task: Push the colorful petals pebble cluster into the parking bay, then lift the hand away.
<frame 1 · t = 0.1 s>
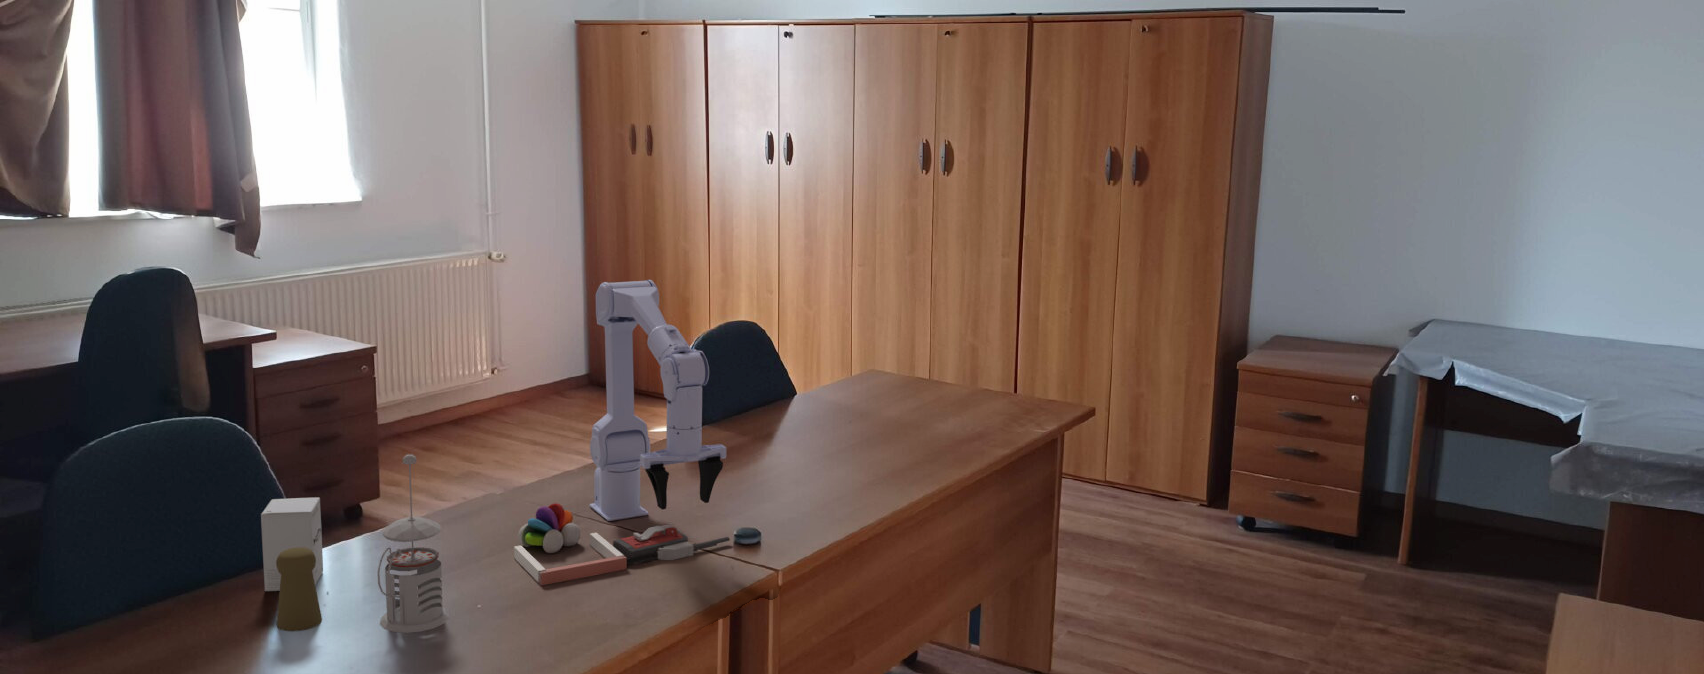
hand: (683, 504, 206), 10 cm above the table, tool pointing down, fingers open, 7 cm apart
french press: (411, 621, 182), on the table
supplement box: (295, 582, 194), on the table
cork: (299, 623, 180), on the table
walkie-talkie: (669, 553, 213), on the table
colorful petals pebble cluster: (549, 546, 213), on the table
parking bay: (568, 562, 206), on the table
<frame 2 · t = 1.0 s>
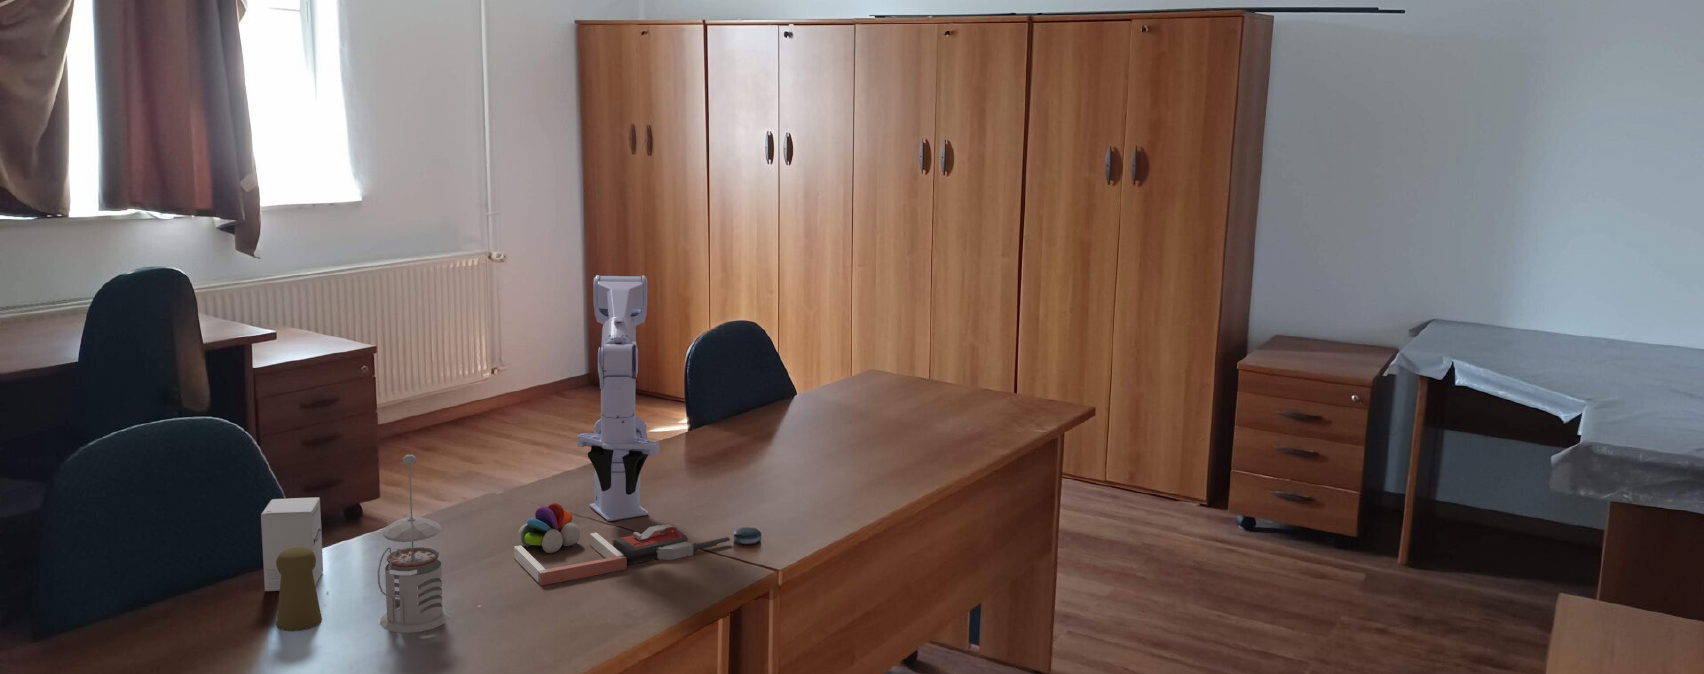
hand: (618, 491, 212), 10 cm above the table, tool pointing down, fingers open, 4 cm apart
nothing on the table moved.
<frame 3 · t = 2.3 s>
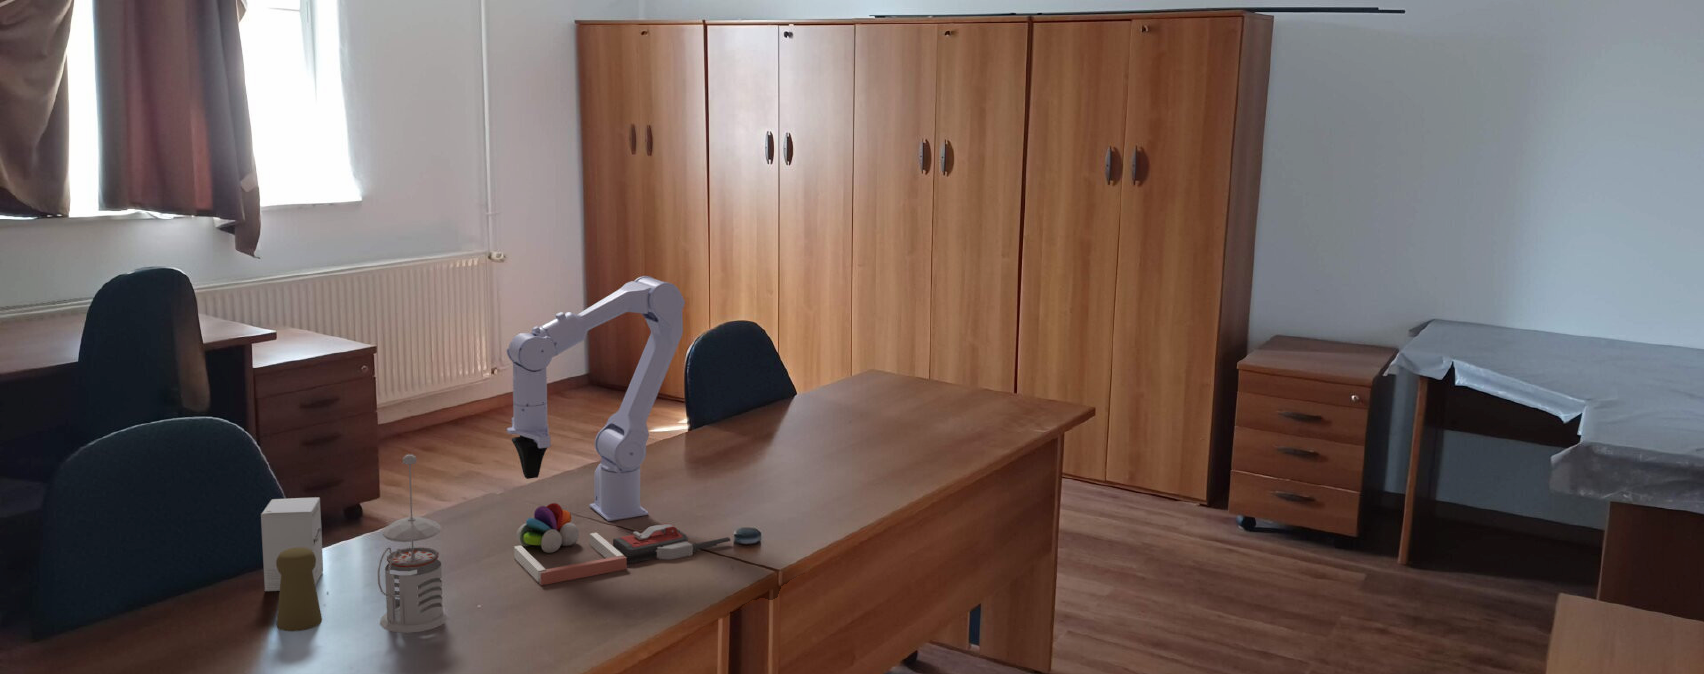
hand: (531, 477, 219), 9 cm above the table, tool pointing down, fingers closed
nothing on the table moved.
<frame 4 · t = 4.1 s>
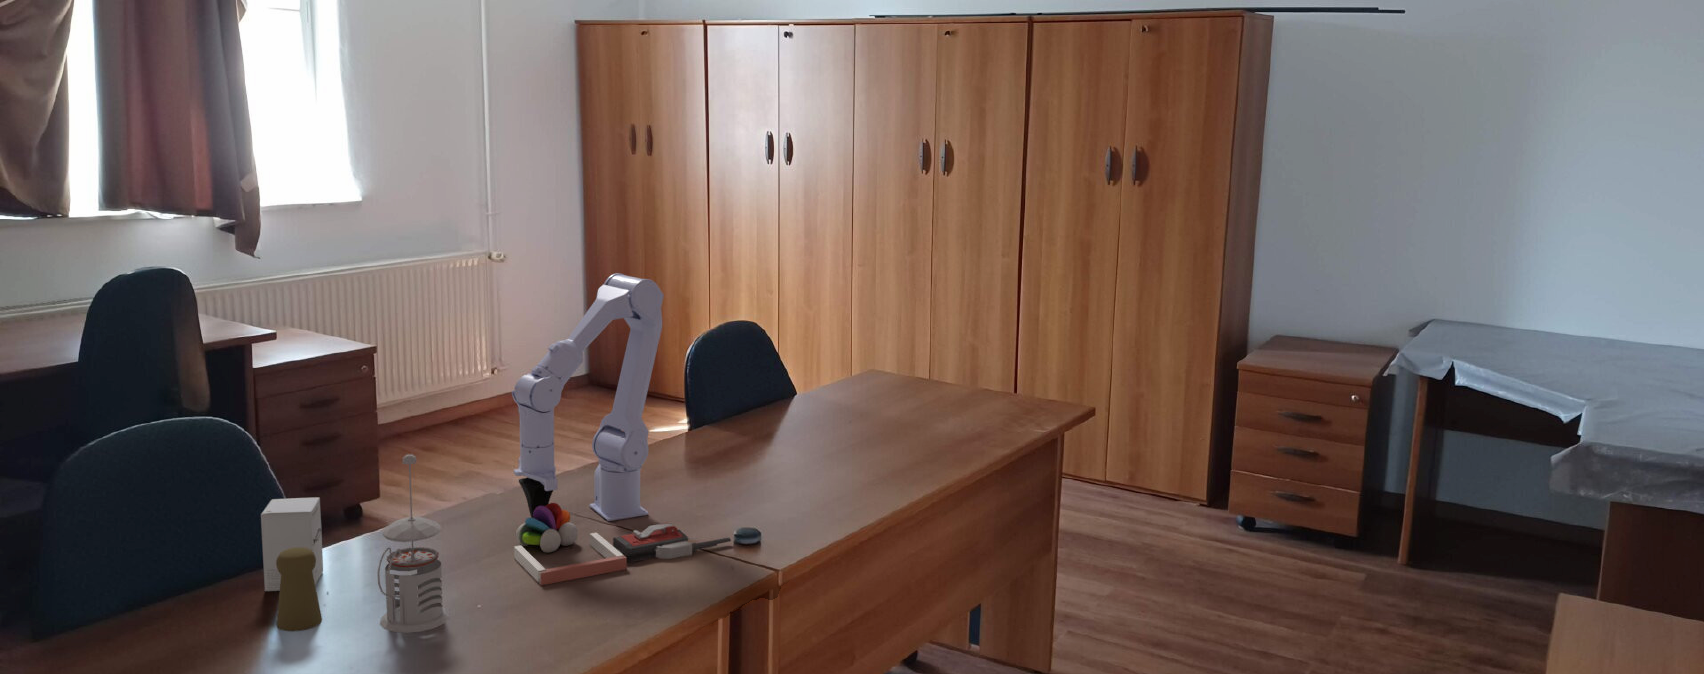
hand: (538, 518, 217), 3 cm above the table, tool pointing down, fingers closed
colorful petals pebble cluster: (547, 546, 213), on the table, touching gripper
everything else where it was.
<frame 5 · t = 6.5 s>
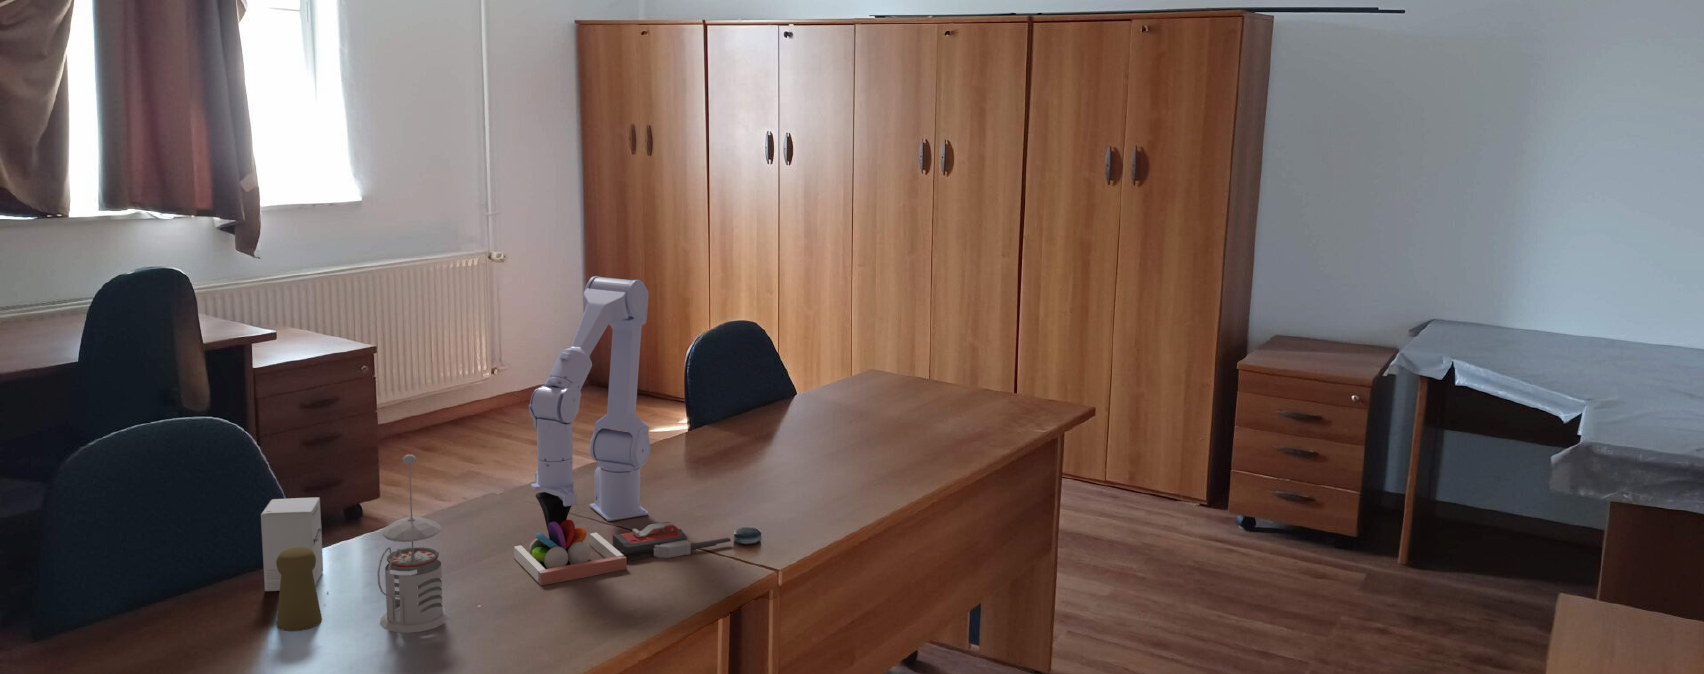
hand: (555, 534, 210), 3 cm above the table, tool pointing down, fingers closed
colorful petals pebble cluster: (560, 563, 206), on the table
everything else where it was.
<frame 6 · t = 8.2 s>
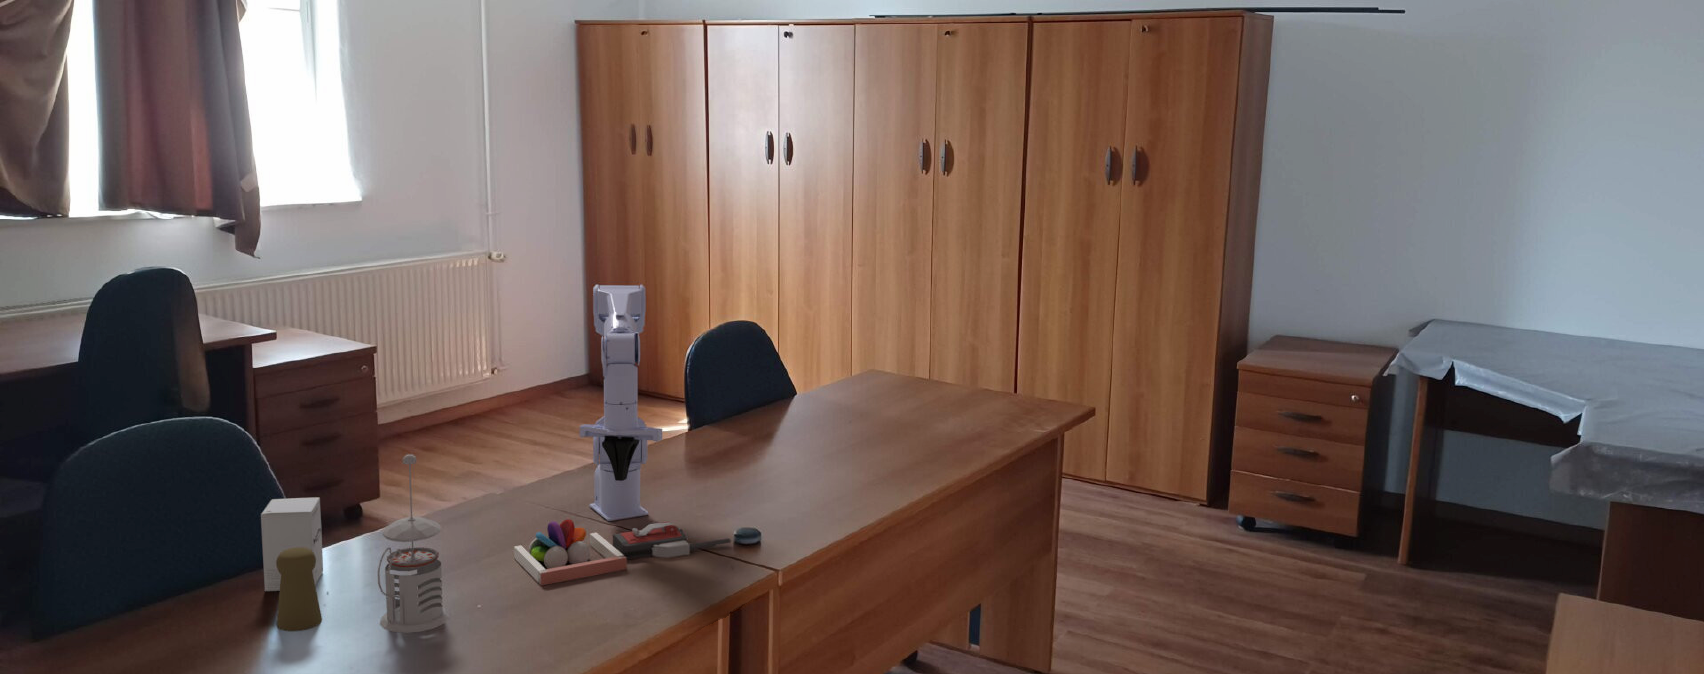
hand: (621, 479, 216), 10 cm above the table, tool pointing down, fingers closed
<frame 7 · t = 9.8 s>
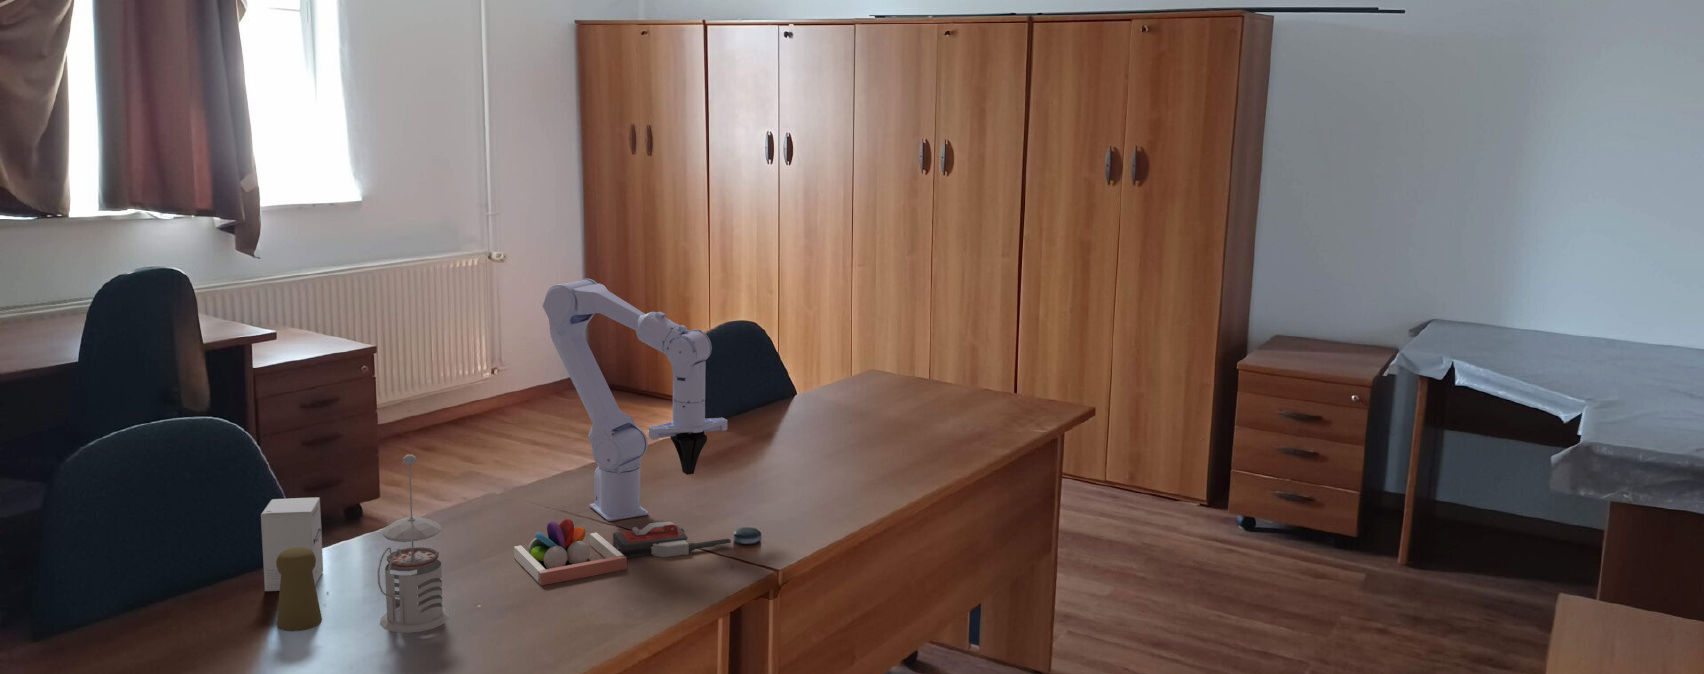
hand: (688, 472, 223), 10 cm above the table, tool pointing down, fingers closed
colorful petals pebble cluster: (559, 563, 206), on the table, touching parking bay
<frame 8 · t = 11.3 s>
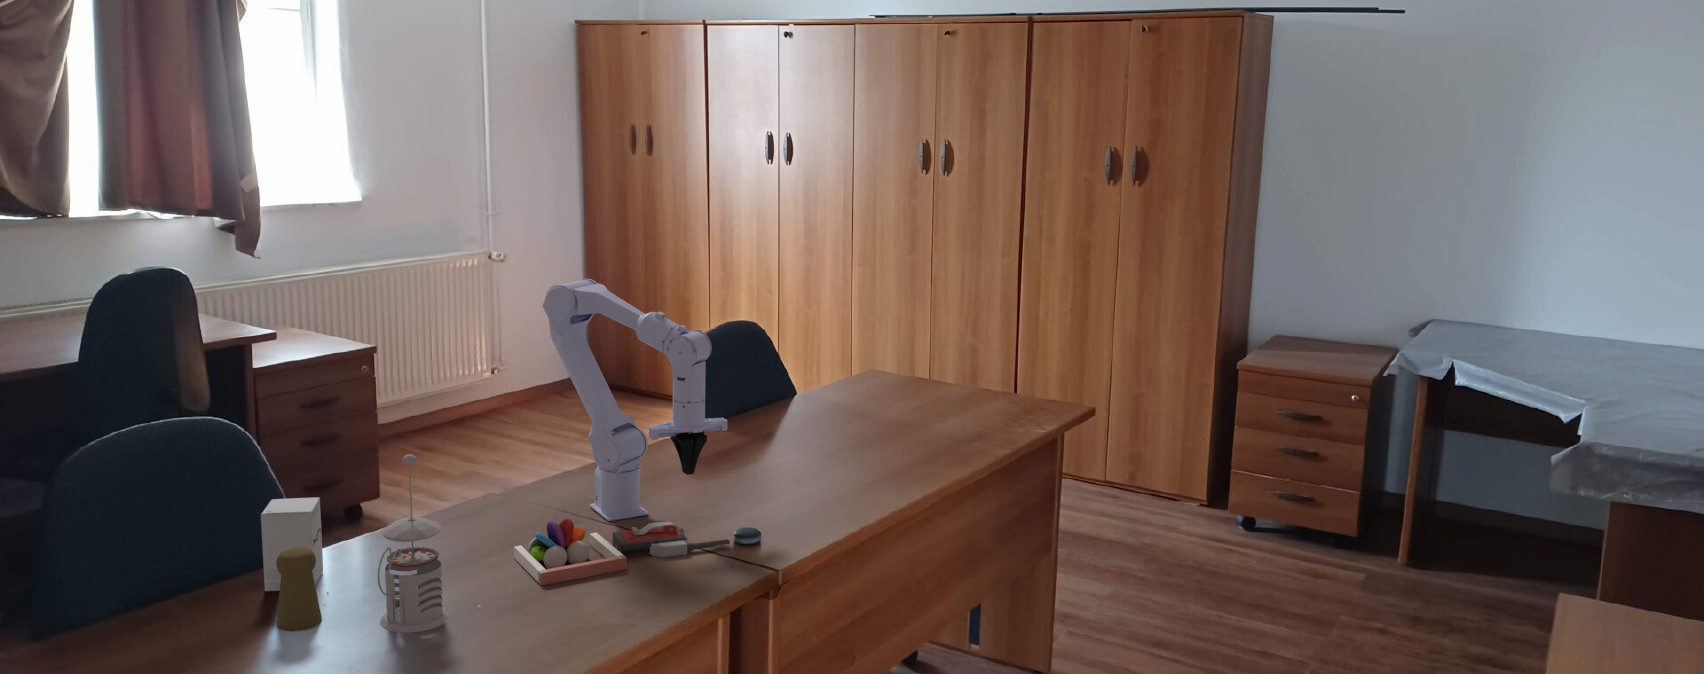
hand: (688, 472, 223), 10 cm above the table, tool pointing down, fingers closed
colorful petals pebble cluster: (559, 562, 206), on the table
at the end: colorful petals pebble cluster inside the target area on the parking bay (2.0 cm from its centre), point 0.0 cm above the parking bay's base; colorful petals pebble cluster moved 7.8 cm from its start; colorful petals pebble cluster tilted 0° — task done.
